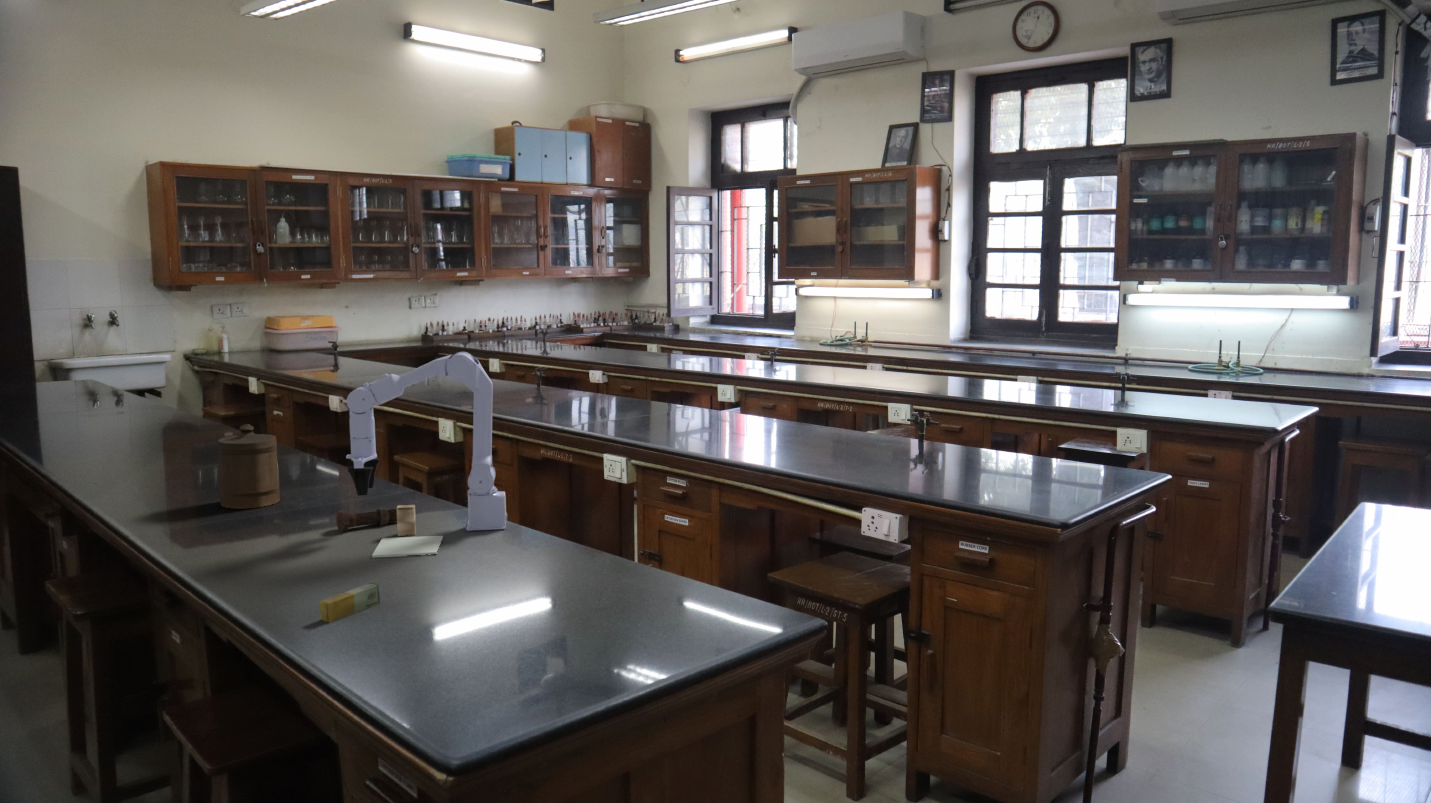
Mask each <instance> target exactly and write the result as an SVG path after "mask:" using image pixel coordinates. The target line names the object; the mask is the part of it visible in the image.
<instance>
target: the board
mask: <svg viewBox="0 0 1431 803" xmlns="http://www.w3.org/2000/svg"><path fill="white" fill-rule="evenodd" d="M443 539H444V535H428V536H427V535H425V536H424V535H423V536H404V537H402V536H401V537H400V536H397V537H383V538H381V540H380V542H379V543H378V545H377V546H376V548H375V550H374V551H373V553H372V554H371V559H375V558H377V559H378V558H391V557H392V558H394V557H395V558H397V557H408V556H407V555H421V556H432V555H431V554H437V555H438V552H439V550H438V549H440V547H441V544H442V542H441V541H443ZM439 546H440V547H439ZM437 551H438V552H437ZM426 554H428V555H426Z"/></svg>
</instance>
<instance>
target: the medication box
mask: <svg viewBox="0 0 1431 803" xmlns="http://www.w3.org/2000/svg"><path fill="white" fill-rule="evenodd" d="M379 587H380V586H379V584H378V583H372V582H369V583H366V584H362V585H360V586H358V587H355V588H352V589H350V590H347V591H344V592H341V593H338V594H336V595H334V596H331V597H328V598H325V599H323V600H320V601H319V611H320V618H321V619H320V621H323V622H327V623H332V622H335V621H337V620H340V619H344V618H346V617H348V616H351V615H355V614H356V613H359V612H362V611H364V610H367V609H370V608H372V607H375V606H377V605H380V604H381V598H380V591H379V589H380V588H379Z"/></svg>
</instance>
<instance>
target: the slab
mask: <svg viewBox="0 0 1431 803" xmlns="http://www.w3.org/2000/svg"><path fill="white" fill-rule="evenodd" d="M396 509H397V521H396V524H397V525H396V526H397V527H396V528H397V537H400V536H401V537H402V536H404V537H407V536H406V535H408V536H416V534H417V521H416V519H417V518H416V504H406V505H405V504H402V505H401V504H399V505H397V506H396Z"/></svg>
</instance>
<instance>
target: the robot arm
mask: <svg viewBox="0 0 1431 803" xmlns="http://www.w3.org/2000/svg"><path fill="white" fill-rule="evenodd" d="M447 376H449V377H450V378H451V379H452V380H455V381H456V382H459V383H461V384H464V385H465V387H467V388H468V389H469V390H470V391H472V393H473V415H472V417H473V418H472V419H473V420H472V422H473V424H472V426H473V427H472V461H471V470H470V472H469V473H470V474H469V475H468V478H467V486H468V488H469V489H468V490H467V510H468V511H467V512H468V522H467V524H466V527H465V531H468V532H469V531H488V530H489V531H492V530H493V531H494V530H505V529H506V525H507V521H508V513H507V503H506V502H507V499H506V498H507V496H506V491H500V490H498V487H496V486H495V485H494V484H495V479H496V477H497V476H496V474H497V473H496V470H495V467H494V466H493V455H492V454H493V453H492V452H493V449H492V448H493V446H492V445H493V399H494V398H493V397H494V396H493V393H494V392H493V390H494V385H493V382H492V380H491V378H490V377H489V375H488V374H487V372H486V371H485V369H484V368H483V366H482V365H481V362H480V361H479V359H478V358H476V357H475V356H474V355H472V354H471V353H469V352H467V351H459V352H456V353H454V354H453V355H452V354H450V355H446V356H441V357H439V358H436V359H434V360H431V361H429V362H428V363H425V364H422V365H420V366H419V367H417V368H414V369H412V370H410V371H408V372H406V373H404V374H401V375H397V374H395V373H389V374H388V373H384V374H382V375H381V378H379V379H376V380H374V381H371V382H370V383H369V382H365V383H363V384H362V386H360V387H357V388H355V389H354V390H352V391H351V392H350V393H349V394H348V395H347V397H346V406H347V408H348V410H349V436H350V438H349V440H350V454H347V455H346V456H345V458H346V459H349V460H351V461H352V462H353V466H352V465H351V466H348V467H347V471H348V473H349V475H350V476H351V478H352V481H353V483H354V486H355V490H356V491H355V492H356V494H357V496H359V497H360V496H368V493H369V489H373V488H374V483H375V477H376V472H377V468H378V464H379V463H380V459H381V458H379V457H378V454H377V447H376V446H377V444H376V442H377V441H376V423H375V421H376V420H375V415H374V406H380V405H383V404H385V403H387V402H389V401H392V400H394V399H396V398H398V397H401V396H403V395H404V391H405V388H408V387H410V386H413V385H414V384H417V383H421V382H423V381H425V380H427V379H431V378H432V377H441V378H447Z"/></svg>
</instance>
